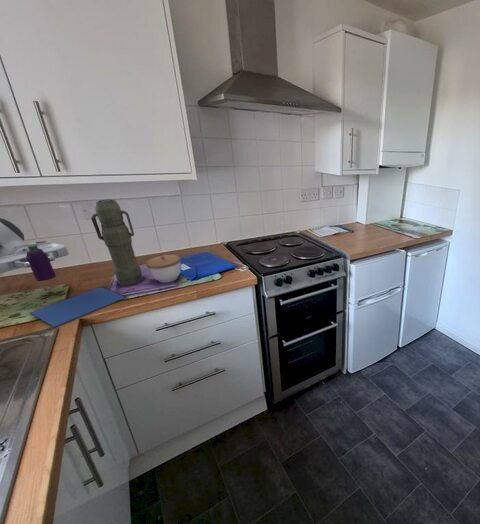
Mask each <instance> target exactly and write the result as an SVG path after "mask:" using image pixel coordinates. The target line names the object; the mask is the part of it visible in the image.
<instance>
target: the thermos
mask: <svg viewBox="0 0 480 524" xmlns="http://www.w3.org/2000/svg"><path fill="white" fill-rule="evenodd" d="M95 212H96V213H94V214H92V216H91V218H90V220H91V222H92V224H93V227H94V229H95V233H96V235H97V239H99V240H101V241H104V245H105V246H106V247H107V249H108V252H109V255H110V258H111V261H112V265H113V267H114V275H115V279H116V280H117V281H118V285H119V286H121V287H130V286H133V285H137V284H139V283H141V282H142V281H143V280H144V278H143V277H144V276H143V272H142V269H141V267H140V265H139V263H138V261H137V258H136V254H135V251H134V248H133V245H132V243H133V240H132V237H134V236H135V232H134V229H133V225H132V222H131V217H130V215H129V213H128V212H127V211H126V210H122V209H121V206H120V205H119V203H118V202H117V201H116V200H114V199H111V198H110V199H109V198H108V199H100V200H98V201H96V203H95ZM123 215H125V216H126V219H127V222H128V223H127V224H128V226H129V227H128V226H127V225H126V222H125V221H124V217H123ZM96 217H97V218H98V221H99V223H100V227H101V230H100V227H99V224H98V221H97V219H96ZM129 229H130V230H129Z"/></svg>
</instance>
